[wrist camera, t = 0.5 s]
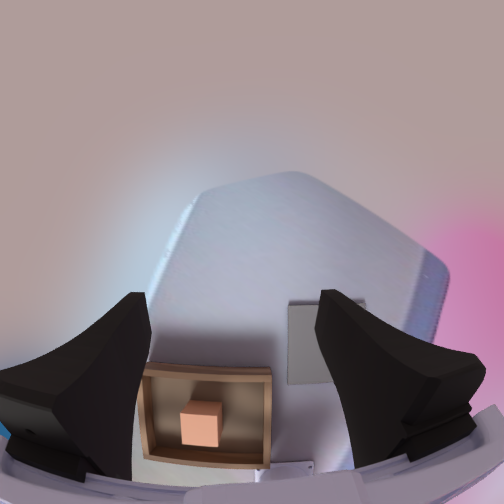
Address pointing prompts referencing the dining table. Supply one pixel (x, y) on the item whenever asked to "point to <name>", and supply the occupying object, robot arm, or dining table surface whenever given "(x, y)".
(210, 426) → the terracotta block
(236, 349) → the dining table surface
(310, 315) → the slate mat
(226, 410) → the walnut box
